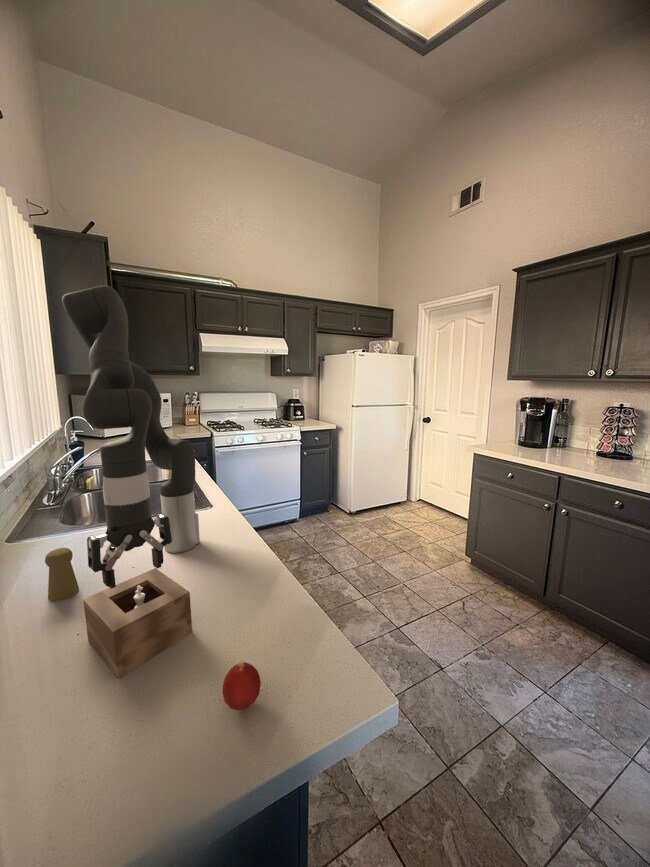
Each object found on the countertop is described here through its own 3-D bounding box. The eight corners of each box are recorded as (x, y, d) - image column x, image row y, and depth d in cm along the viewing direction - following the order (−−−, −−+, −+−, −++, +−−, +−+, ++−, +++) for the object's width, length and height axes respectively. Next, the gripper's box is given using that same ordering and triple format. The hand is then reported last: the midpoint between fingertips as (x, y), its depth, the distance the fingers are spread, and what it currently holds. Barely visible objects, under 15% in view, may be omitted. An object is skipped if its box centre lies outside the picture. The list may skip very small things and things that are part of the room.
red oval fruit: (227, 691, 58) (225, 648, 56) (262, 688, 58) (261, 646, 57) (220, 726, 52) (217, 679, 51) (259, 723, 52) (257, 676, 51)
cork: (62, 602, 80) (56, 558, 78) (41, 599, 81) (34, 555, 79) (85, 587, 86) (80, 545, 84) (65, 584, 87) (59, 543, 85)
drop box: (158, 604, 79) (155, 568, 78) (192, 632, 71) (189, 591, 69) (88, 640, 69) (83, 599, 67) (118, 678, 60) (113, 631, 59)
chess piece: (160, 625, 72) (157, 580, 71) (146, 642, 67) (143, 594, 66) (137, 624, 72) (134, 579, 71) (121, 641, 67) (118, 592, 66)
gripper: (155, 483, 73) (161, 555, 75) (75, 502, 62) (86, 586, 64) (174, 490, 68) (180, 567, 71) (91, 512, 57) (102, 602, 60)
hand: (135, 576), depth 68 cm, fingers open, 8 cm apart
